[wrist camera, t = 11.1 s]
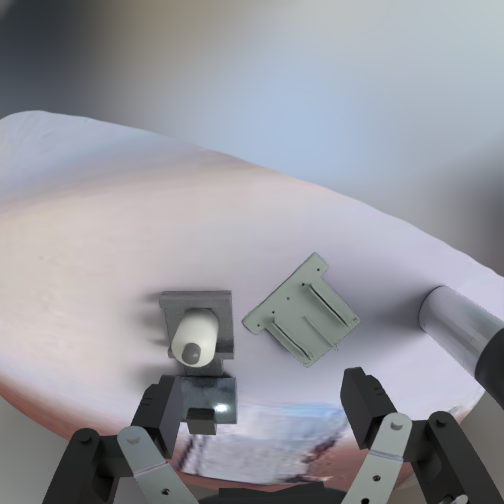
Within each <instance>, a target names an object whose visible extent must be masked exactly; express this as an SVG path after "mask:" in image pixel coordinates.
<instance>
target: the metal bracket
mask: <svg viewBox="0 0 504 504" xmlns="http://www.w3.org/2000/svg"><path fill="white" fill-rule="evenodd" d="M328 268H329V265H328V264H327V263H326V262H325V261H324V260H323V259H322V258H321V257H320V256H319V255H318V254H317V253H316V252H314V253H313V254H312V255H311V256H310V257H309V258H308V259H307V260H306V261H305V262H304V263H302V264H301V265H300V266H299V267H298V269H297V271H295V272H294V273H293V274H292V275H291V276H290V277H289V278H288V279H287V280H286V281H285V282H284V283H283V284H282V285H281V286H280V287H279V288H278V289H277V290H276V291H274V292H273V293H272V294H271V295H270V296H269V297H268V298H267V299H266V300H265V301H264V302H263V303H262V304H261V305H260V306H256V307H255V308H254V309H253V310H252V311H251V312H250V313H249V314H248V315H246V316H245V317H244V318H243V323H244V324H245V326H246V327H247V328H248V329H249V330H250V331H251V332H252V333H253V334H255V335H257V334H258V333H259V332H261V331H262V330H263V329H264V328H266V329H267V330H268V331H269V332H270V333H271V334H272V335H273V336H274V337H275V338H276V339H277V340H278V341H279V342H280V343H281V344H282V345H283V346H284V347H285V348H286V349H287V350H288V351H289V352H290V353H292V354H293V355H294V356H295V357H296V358H297V359H298V360H299V361H300V362H301V363H302V364H303V365H304V366H305V367H306V368H308V367H309V366H310V365H312V364H313V363H314V362H315V361H317V360H318V359H319V358H320V357H321V356H323V355H324V354H325V353H326V352H327V351H329V350H330V349H331V348H332V347H334V349H335V350H336V351H338V349H337V346H336V344H337V343H338V342H339V341H340V340H341V339H342V338H343V337H345V336H346V335H347V334H348V333H349V332H350V331H351V330H352V329H353V328H354V327H356V326H357V325H358V324H359V323H360V321H361V320H360V319H359V317H358V316H357V315H356V314H355V313H354V312H353V311H352V310H351V309H350V308H349V307H348V306H347V304H346V303H345V302H344V301H343V300H342V299H341V298H340V297H339V296H338V295H337V294H336V293H335V292H334V291H333V290H332V288H331V287H330V286H329V285H328V284H327V283H326V282H325V281H324V280H323V279H322V278H321V276H322V274H323V273H324V272H325V271H326V270H327V269H328ZM317 269H320V270H319V271H317ZM302 283H304V284H305V285H304V286H303V285H302ZM288 297H289V300H287V298H288ZM272 311H274V313H272ZM354 318H356V321H354V320H353V319H354ZM258 324H259V325H260V326H258ZM304 361H307V363H304Z"/></svg>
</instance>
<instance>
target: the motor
mask: <svg viewBox="0 0 504 504" xmlns="http://www.w3.org/2000/svg"><path fill="white" fill-rule="evenodd" d="M159 303H160V307H165V314H166V321H167V327H168V333H169V339H170V347H169V349H168V356H169V358H176V357H175V356H174V354H173V352H172V348H171V344H172V341H173V339H174V336H175V334H176V332H177V329H178V327H179V325H180V322H181V320H182V318H183V316H184V314H185V313H186V312H187V311H189V310H190V309H193V308H204V309H207V310H209V311H210V312H212V313H213V314H214V315H215V316H216V318H217V320H218V323H219V328H218V334H217V340H216V346H215V352H214V357H213V359H212V360H211V361H210V362H209V363H208V364H206V365H204V366H201V367H191V366H187V365H184V367H185V372H186V375H207V376H223V359H234V336H233V318H232V298H231V291H164V293H163V294H162V296H161V297H160V299H159ZM179 381H180V386H181V390H182V395H183V399H184V409H183V413H182V417H181V421H180V422H187V425H188V429H189V432H190V434H201V435H216V430H217V424H237V385H236V378H199V377H179Z"/></svg>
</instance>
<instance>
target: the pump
mask: <svg viewBox="0 0 504 504" xmlns="http://www.w3.org/2000/svg"><path fill="white" fill-rule="evenodd" d="M218 328H219V323H218V320H217V318H216V316H215V315H214V314H213V313H212V312H210V311H209V310H207V309H204V308H193V309H190V310H189V311H187V312H186V313H185V314H184V316H183V318H182V320H181V322H180V325H179V327H178V329H177V332H176V334H175V336H174V339H173V341H172V344H171V348H172V352H173V354H174V356H175V357H176V359H177V360H178V361H180V362H181V363H183V364H184V365H187V366H191V367H201V366H204V365H206V364H208V363H209V362H210V361H211V360H212V359H213V357H214V352H215V346H216V340H217V334H218Z"/></svg>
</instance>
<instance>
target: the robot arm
mask: <svg viewBox="0 0 504 504" xmlns="http://www.w3.org/2000/svg"><path fill="white" fill-rule="evenodd" d="M419 323H420V326H421V327H422V329H423V330H424V331H426V332H427V333H428V334H429V335H430V336H431V337H432V338H433V339H434V340H435V341H436V342H437V343H438V344H439V345H440V346H441V347H442V348H444V349H445V350H446V351H447V352H448V353H449V354H450V355H451V356H452V357H453V358H454V359H455V360H456V361H457V362H458V363H459V364H460V365H461V366H462V367H463V368H464V369H465V370H466V371H467V372H468V373H469V374H470V375H471V376H472V377H473V378H474V379H475V380H476V381H477V382H478V383H479V384H481V385H482V386H483V387H484V389H485V390H486V391H487V392H488V393H489V394H490V395H491V396H492V397H493V398H494V399H495V400H496V401H497V403H498V404H499V405H500V406H501V407H502V409H503V410H504V321H502V320H501V319H499V318H498V317H496V316H494V315H493V314H491V313H490V312H488V311H487V310H486V309H484V308H483V307H481V306H479V305H478V304H476V303H475V302H473V301H471V300H470V299H468V298H467V297H465V296H463V295H462V294H460V293H458V292H456V291H455V290H453V289H451V288H449V287H447V286H441V287H438V288H436V289H435V290H433V291H432V292H431V293H430V294H429V295H428V296H427V298H426V299H425V301H424V302H423V304H422V306H421V309H420V313H419ZM340 398H341V403H342V405H343V408H344V410H345V413H346V415H347V418H348V420H349V423H350V425H351V428H352V430H353V433H354V436H355V438H356V441H357V443H358V446H359V448H360V450H362V449H366V448H368V449H369V453H368V455H367V457H366V459H365V461H364V463H363V465H362V467H361V469H360V471H359V473H358V475H357V477H356V478H355V480H354V482H353V484H352V486H351V487H350V489H349V491H348V493H347V492H345V491H342V490H339V489H335V488H329V487H324V484H323V481H322V482H316V483H309V484H301V485H296V486H293V487H290V488H286V489H283V490H279V491H276V492H265V491H258V490H252V489H246V488H219V494H214V495H211V496H207V497H205V498H202V499H200V500H198V501H197V500H196V499H195V498H194V496H193V495H192V494H191V493H190V491H189V490H188V489H187V488H186V486H185V485H184V484H183V482H182V481H181V480H180V478H179V477H178V476H177V474H176V473H175V471H174V470H173V469H172V467H171V466H170V464H169V463H168V462H166V461H165V460H164V458H165V459H172V455H173V451H174V446H175V442H176V438H177V434H178V430H179V426H180V421H181V417H182V413H183V409H184V399H183V395H182V390H181V386H180V381H179V377H178V376H173V375H162V376H161V379H160V381H159V384H152V385H151V386H150V387H148V388H147V389H146V390H145V392H144V395H143V397H142V399H141V402H140V405H139V406H138V409H137V411H136V413H135V416H134V418H133V420H132V423H131V425H130V426H129V427H126V428H124V429H122V430H121V431H120V432H119V433H118V435H113V436H99V434H98V432H97V431H95V430H93V429H91V428H83V429H80V430H78V431H76V432H75V433H74V434H73V436H72V438H71V440H70V442H69V444H68V446H67V448H66V450H65V452H64V454H63V457H62V459H61V461H60V463H59V466H58V467H57V470H56V472H55V474H54V476H53V479H52V481H51V484H50V486H49V488H48V490H47V493H46V495H45V498H44V500H43V503H42V504H113V502H114V497H115V494H116V490H117V486H118V483H119V479H120V477H132V476H134V477H135V478H136V480H137V482H138V484H139V485H140V487H141V489H142V491H143V493H144V494H145V496H146V498H147V499H148V501H149V502H150V504H386V503H387V500H388V498H389V496H390V493H391V491H392V489H393V486H394V484H395V481H396V479H397V476H398V474H399V471H400V468H401V465H402V463H403V462H411V465H412V467H413V470H414V472H415V474H416V477H417V479H418V482H419V484H420V487H421V489H422V492H423V494H424V496H425V499H426V502H427V504H504V501H503V499H502V497H501V495H500V493H499V491H498V490H497V488H496V486H495V484H494V482H493V480H492V479H491V477H490V475H489V473H488V472H487V470H486V468H485V466H484V465H483V463H482V461H481V460H480V458H479V456H478V455H477V453H476V452H475V450H474V448H473V447H472V445H471V443H470V442H469V440H468V439H467V437H466V436H465V434H464V432H463V431H462V429H461V428H460V426H459V425H458V423H457V422H456V420H455V419H454V417H453V416H452V415H451V414H450V413H448V412H445V411H437V412H434V413H432V414H431V415H430V417H429V419H428V420H417V421H413V420H411V419H410V418H409V417H408V416H407V415H405V414H403V413H398V412H397V410H396V408H395V407H394V405H393V403H392V402H391V400H390V398H389V397H388V395H387V394H386V392H385V390H384V389H383V388H382V385H381V384H380V382H379V381H378V380H377V379H376V378H375V377H373V376H372V375H367V376H366V374H365V373H364V371H363V369H362V368H361V367H355V368H348V369H345V371H344V376H343V382H342V387H341V392H340Z"/></svg>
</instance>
